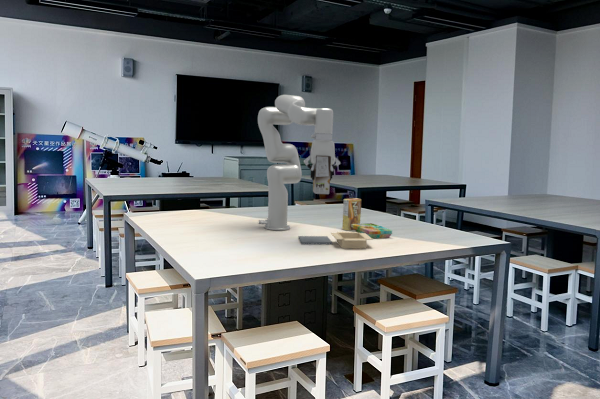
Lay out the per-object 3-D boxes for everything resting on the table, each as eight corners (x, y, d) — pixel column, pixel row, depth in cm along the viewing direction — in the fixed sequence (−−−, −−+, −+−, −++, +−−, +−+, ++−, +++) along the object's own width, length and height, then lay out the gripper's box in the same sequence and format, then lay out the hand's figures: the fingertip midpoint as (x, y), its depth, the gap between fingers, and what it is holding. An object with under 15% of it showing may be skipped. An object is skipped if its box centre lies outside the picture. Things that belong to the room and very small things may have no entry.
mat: (301, 244, 210) (301, 241, 210) (298, 238, 223) (298, 236, 223) (332, 244, 211) (332, 242, 211) (327, 238, 224) (327, 236, 224)
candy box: (354, 227, 254) (355, 198, 253) (360, 229, 251) (361, 198, 249) (341, 229, 249) (343, 198, 247) (347, 230, 246) (349, 199, 244)
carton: (336, 249, 202) (337, 239, 201) (329, 240, 220) (330, 231, 219) (373, 249, 203) (374, 239, 203) (363, 240, 221) (363, 231, 221)
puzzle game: (369, 229, 225) (351, 222, 244) (368, 239, 226) (350, 231, 245) (392, 228, 229) (372, 221, 248) (391, 238, 229) (372, 231, 248)
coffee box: (329, 194, 210) (331, 156, 208) (314, 194, 209) (316, 155, 207) (326, 191, 219) (328, 155, 217) (312, 191, 218) (313, 154, 216)
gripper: (304, 137, 206) (302, 180, 209) (345, 138, 208) (342, 181, 211) (301, 137, 214) (300, 178, 216) (341, 138, 216) (339, 179, 218)
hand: (321, 179), depth 213 cm, fingers closed on coffee box, 6 cm apart
